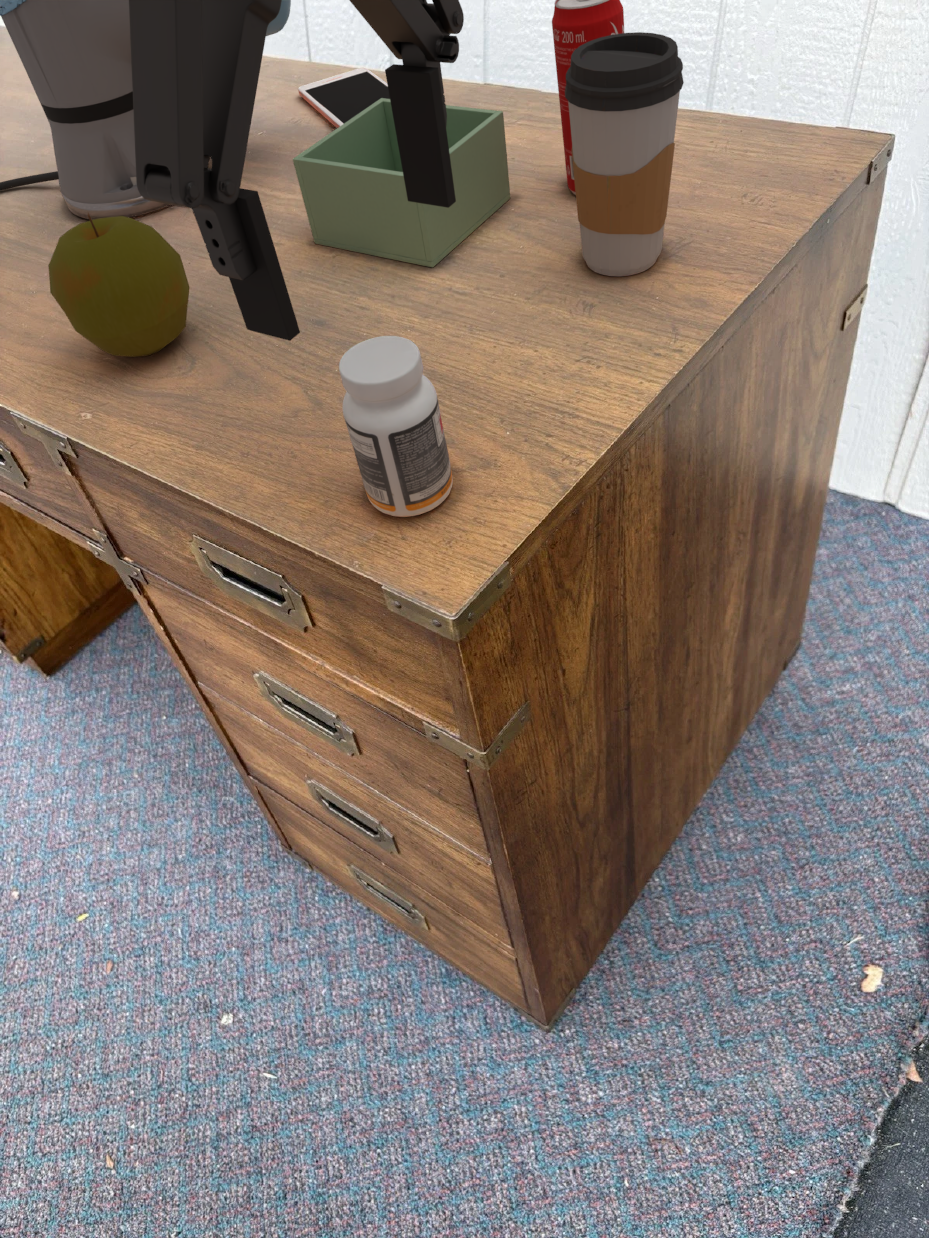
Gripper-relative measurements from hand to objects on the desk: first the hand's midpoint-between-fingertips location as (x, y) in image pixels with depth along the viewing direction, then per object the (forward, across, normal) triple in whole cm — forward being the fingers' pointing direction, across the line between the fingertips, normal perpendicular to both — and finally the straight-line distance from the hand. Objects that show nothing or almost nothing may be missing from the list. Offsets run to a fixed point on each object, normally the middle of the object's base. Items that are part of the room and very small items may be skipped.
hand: (358, 262), depth 45 cm
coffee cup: (+16, +31, 0) cm, 35 cm away
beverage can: (+16, +42, +8) cm, 46 cm away
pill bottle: (+16, 0, 0) cm, 16 cm away
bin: (+15, +31, +21) cm, 41 cm away
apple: (+16, +6, +31) cm, 35 cm away
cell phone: (+15, +52, +43) cm, 69 cm away
